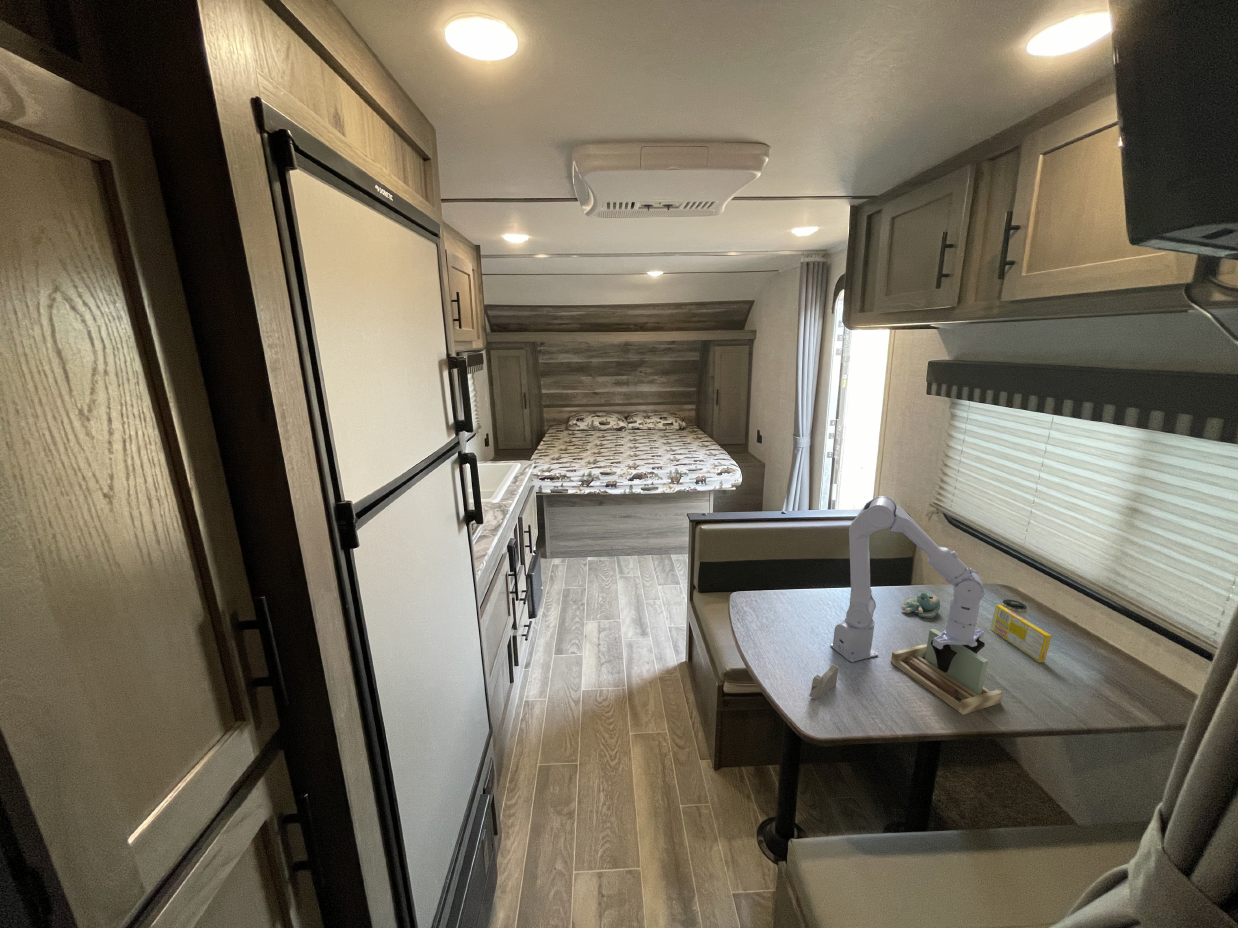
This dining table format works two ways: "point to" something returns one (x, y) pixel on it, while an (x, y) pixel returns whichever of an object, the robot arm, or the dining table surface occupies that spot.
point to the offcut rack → (968, 697)
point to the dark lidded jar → (1015, 607)
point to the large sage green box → (961, 665)
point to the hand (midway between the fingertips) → (953, 666)
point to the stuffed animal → (923, 605)
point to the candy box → (1020, 633)
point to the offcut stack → (933, 679)
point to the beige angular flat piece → (824, 682)
